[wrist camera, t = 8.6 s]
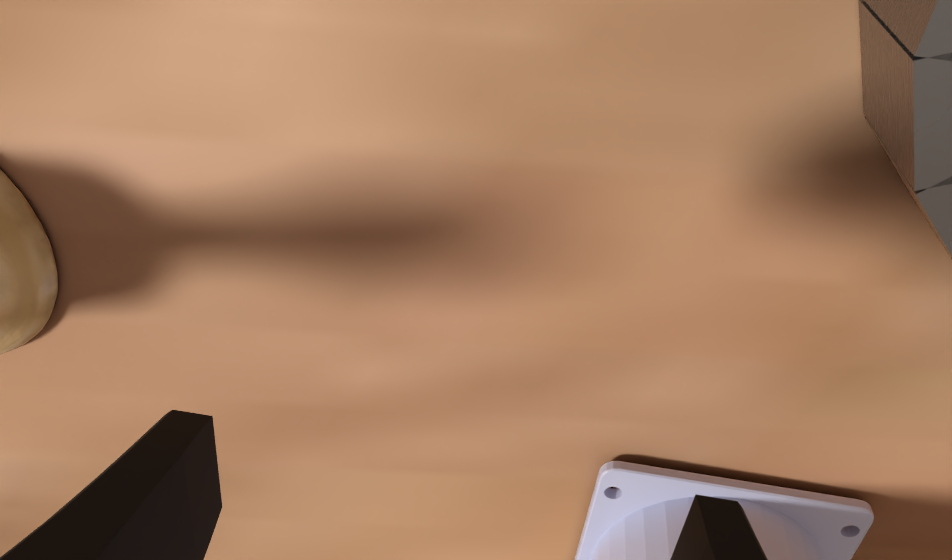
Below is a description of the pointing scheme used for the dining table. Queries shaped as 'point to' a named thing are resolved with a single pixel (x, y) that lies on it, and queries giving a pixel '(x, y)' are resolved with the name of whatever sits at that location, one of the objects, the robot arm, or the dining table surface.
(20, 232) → the hand bell
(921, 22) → the grey metal bowl
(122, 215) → the dining table surface
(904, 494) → the dining table surface
